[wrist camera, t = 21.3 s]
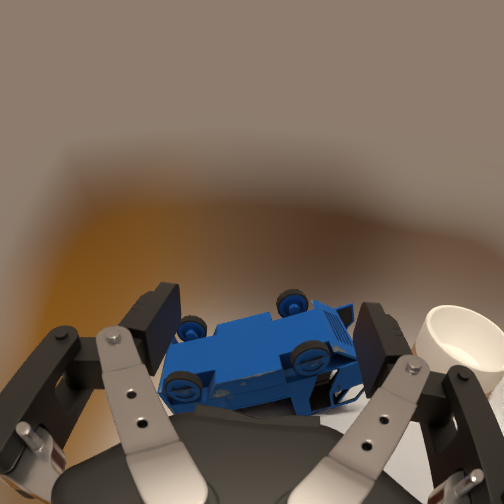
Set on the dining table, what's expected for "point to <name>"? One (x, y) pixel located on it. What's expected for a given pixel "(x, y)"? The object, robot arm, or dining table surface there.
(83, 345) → the robot arm
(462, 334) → the bowl
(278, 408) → the dining table surface
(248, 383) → the toy vehicle
